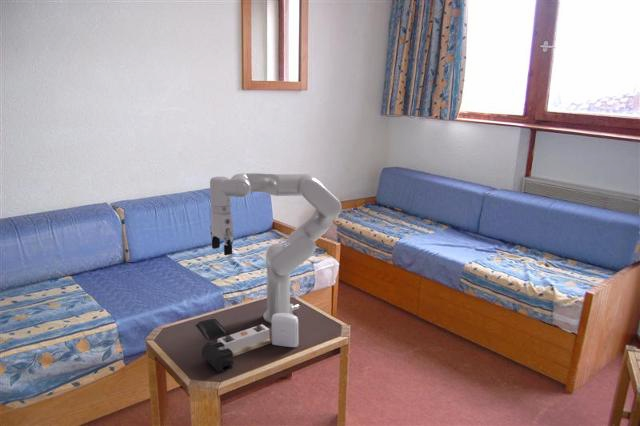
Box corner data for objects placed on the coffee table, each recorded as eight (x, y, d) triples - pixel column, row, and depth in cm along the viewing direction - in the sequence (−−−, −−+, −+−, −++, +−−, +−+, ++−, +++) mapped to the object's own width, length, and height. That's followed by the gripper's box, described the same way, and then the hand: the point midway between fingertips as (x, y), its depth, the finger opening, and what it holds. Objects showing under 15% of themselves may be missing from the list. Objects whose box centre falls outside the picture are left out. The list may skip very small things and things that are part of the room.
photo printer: (269, 345, 186) (269, 314, 183) (273, 339, 190) (273, 309, 187) (296, 349, 184) (296, 318, 181) (299, 343, 188) (300, 313, 185)
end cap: (201, 362, 174) (200, 345, 172) (219, 356, 178) (219, 339, 177) (215, 375, 166) (214, 357, 165) (233, 368, 171) (233, 350, 169)
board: (260, 335, 193) (260, 321, 192) (271, 342, 188) (271, 327, 187) (216, 351, 181) (216, 335, 180) (226, 359, 176) (225, 343, 175)
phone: (215, 318, 205) (228, 333, 193) (215, 320, 206) (228, 336, 193) (196, 322, 202) (208, 338, 189) (196, 324, 202) (208, 340, 189)
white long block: (262, 333, 192) (262, 323, 191) (269, 338, 189) (269, 327, 188) (217, 349, 180) (217, 337, 179) (224, 354, 177) (224, 343, 176)
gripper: (240, 212, 188) (241, 255, 193) (218, 203, 201) (219, 244, 205) (223, 214, 184) (224, 259, 188) (201, 206, 197) (203, 247, 201)
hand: (222, 251), depth 197 cm, fingers open, 9 cm apart
